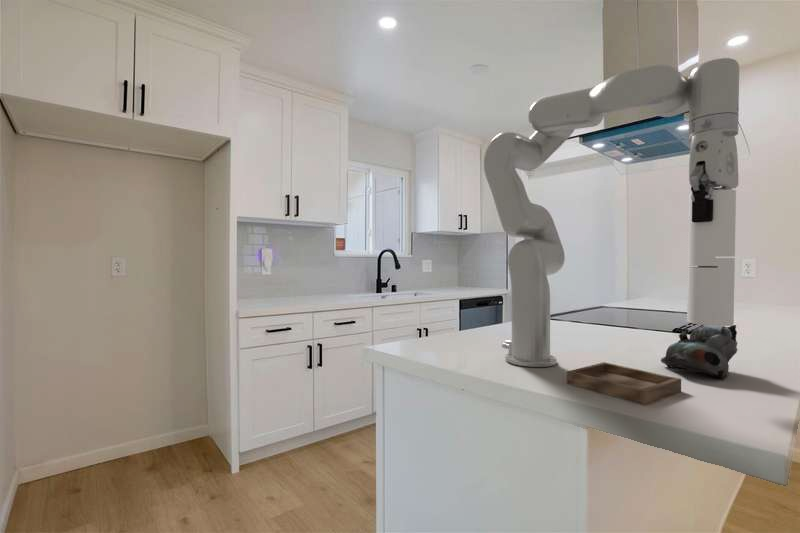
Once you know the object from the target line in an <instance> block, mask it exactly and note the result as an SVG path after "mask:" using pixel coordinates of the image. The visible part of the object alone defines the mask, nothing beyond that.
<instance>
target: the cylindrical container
mask: <svg viewBox="0 0 800 533" xmlns="http://www.w3.org/2000/svg"><path fill="white" fill-rule="evenodd" d="M691 196H692V192H690V193H689V194H688V229H687V231H688V233H687V234H688V235H687V236H688V237H687V238H688V240H687V295H686V296H687V297H686V298H687V300H686V301H687V302H686V303H687V304H686V309H687V310H686V311H687V312H686V322H687V323H689V324H690V323H691V324H695V325H702V326H703V325H711V326H724V327H730V326H733V325H735V324H734V321H735V320H734V317H735V268H736V267H735V265H736V264H735V263H736V262H735V261H736V258H735V256H736V214H737V213H736V208H737V206H736V205H737V190H736V189H731V190H713V192H712V196H711V199H713V221H711V222H696V223H695V222H692V199H691ZM711 199H708V200H711Z"/></svg>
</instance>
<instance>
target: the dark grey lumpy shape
mask: <svg viewBox="0 0 800 533" xmlns="http://www.w3.org/2000/svg"><path fill="white" fill-rule="evenodd" d="M736 328H737V325H736V324H734V325H733V326H711V325H702V326H699V327H697V328H695V329H693V331H691V333H690V334H689V337H688V334H687V333H686V332H684V331H681V333H679V335H678V337H679V340H677V342H675V343H671V344H669V346H668V348H667V349H666V351H665V352H666V353H665V356H664V357H661V358H660V362H661V363H662V364H665V365H666V367H668V368H669V367H676V368H683V369H687V370H691V371H694V372H699V373H703V374H707V375H710V376H713V377H715V378H717V379H719V380H724V379H726V378H727V377H728V374H729V370H730V368H729V367H730V366H729V362H730V360H731V359H732V358H733V357H734V356H735V355H736V354H737V352H738V348H737V346H738V341H737V334H738V331H737V329H736Z"/></svg>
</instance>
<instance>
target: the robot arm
mask: <svg viewBox="0 0 800 533" xmlns="http://www.w3.org/2000/svg"><path fill="white" fill-rule="evenodd" d="M739 101H740V64H739V63H738V61H737V60H736V59H734V58H729V57H722V58H716V59H712V60H708V61H706V62H705V61H704V62H703V63H701V64H699V65H697V66H695V67H694V69H692V70H691V73H690V75H689V76H685V75H683V74H682V73H681V72H680V71H679V70H678V69H677V68H676V67H674V66H671V65H666V64H656V65H650V66H645V67H640V68H639V67H638V68H636V69H635V68H634V69H632V70H631V69H630V70H625V71H623V72H620V73H617V74H615V75H612V76H611V77H609V78H608V79H607V78H606V79H605V80H604V81H603V80H602V82H600V83H599V84H597V85H595V86H592V87H590V88H589V87H588V88H585V89H578V90H574V91H571V92H565V93H561V94H560V93H559V94H556V95H551V96H550V95H549V96H547V97H542V98H540V99H537V100H536V101H535V102H534V103H533V104H532V105H531V106H530V108H529V111H528V122H529V124H530V127H531V128H533V130H535V131H534V133H533V134H532V135H531V136H530V137H527V136H525V135H522V134H520V133H517V132H511V131H507V132H500V133H499V134H497V135H496V136H494V137H493V138H492V140H491V141H490V142H489V143H488V146H487V148H486V150H485V153H484V158H483V170H484V174H485V178H486V180H487V183H488V186H489V188H490V192H491V195H492V198H493V200H494V201H493V202H494V204H495V208H496V211H497V214H498V217H499V220H500V223H501V226H502V229H503V231H504V232H505V234H507V235H508V236H510V237H513V238H522V239H521V240H520V241H518V242H515V244H514V245H512V247H511V248H510V250H509V252H508V256H507V264H508V265H507V266H508V271H509V275H510V285H511V286H510V288H511V291H510V292H511V294H510V295H511V340H508V339H507V340H505V342H503V343H502V344H501V347H502V348H503V349H506V350H507V349H508V353H506V355H505V361H506V362H507V363H510V364H512V365H516V366H519V367H520V366H521V367H526V368H529V367H530V368H546V367H553V366H555V365H557V363H558V362H557V361H558V360H557V357H555V356H554V355H551V291H550V290H551V289H550V284H549V280H548V276H551V275H553V274H556V273H558V272H559V271H560V270H562V267H563V266H564V264H565V252H564V248H563V244H562V241H561V238H560V236H559V232H558V230H557V227H556V225H555V222H554V219H553V217H552V215H551V213H550V212H549V210H548V209H547V208H545V207H544V206H543V205H540V204H537V203H533V202H531V200H530V199H529V196H528V194H527V191H526V188H525V187H526V186H525V184H524V182H523V180H522V178H521V177H520V176H519V174H518V171H517V170H520V171H524V172H525V171H526V172H528V171H529V172H530V171H533V170H536V169H538V168H539V167H540V166H542V165H543V164H544V163H545V162H546V161H547V160H548V159H550V157H551V156H552V155H553V154H554V153H555V152H556V151H557V150H558V149H559V148H560V147H561V146H562V145H564V143H565V142H566V141H567V140H568V139H569V138H570V136H571V135H572V134H573V133H574V132H575V130H577V129H585V128H594V127H596V126H599V125H600V124H601V122H602V121H603V119H604V117H605V116H607V115H609V114H611V113H614V112H617V111H622V110H625V109H626V110H627V109H633V108H639V107H640V108H641V107H646V108H648V109H649V110H650V111H651V112H652V113H653V114H655V115H656V116H658V117H662V118H670V117H672V118H673V117H676V116H678V115H681V114H683V113H687V112H688V142H690V151H689V161H688V163H689V164H688V179H689V180H688V181H689V185H690V191H691V193H692V196H691V199H692V222H695V223H696V222H711V221H713V199H711V196H712V192H713V190H734V189H736V188H737V187H738V186H739V158H738V147H737V140H736V136H738V135H739V114H740V113H739V109H740V108H739ZM516 169H517V170H516ZM708 199H711V200H708Z"/></svg>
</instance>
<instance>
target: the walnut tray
mask: <svg viewBox="0 0 800 533" xmlns="http://www.w3.org/2000/svg"><path fill="white" fill-rule="evenodd" d="M566 384H569V385H573V386H574V387H575V386H576V387H579V388H582V389H587V390H590V391H593V392H598V393H601V394H604V395H607V396H610V397H611V396H612V397H615V398H618V399H622V400H625V401H629V402H632V403H636V404H640V405H643V406H648V405H650V404H653V403H654V402H657V401H660V400H663V399H665V398H668V397H670V396H673V395H675V394H678V393H680V392H682V378H680V377H679V378H678V377H674V376H669V375H665V374H661V373H656V372H651V371H646V370H642V369H637V368H633V367H628V366H625V365H624V366H623V365H618V364H614V363H611V362H604V361H603V362H600V363H595V364H592V365H587V366H584V367H580V368H575V369H571V370H567V371H566Z"/></svg>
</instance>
